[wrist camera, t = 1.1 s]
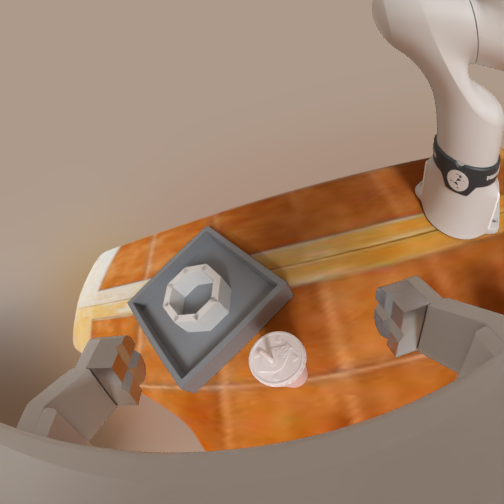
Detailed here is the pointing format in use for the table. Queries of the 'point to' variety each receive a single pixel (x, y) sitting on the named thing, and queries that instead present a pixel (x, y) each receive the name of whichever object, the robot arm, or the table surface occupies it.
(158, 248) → the table surface
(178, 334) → the tray
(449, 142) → the robot arm
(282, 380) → the smoothie
